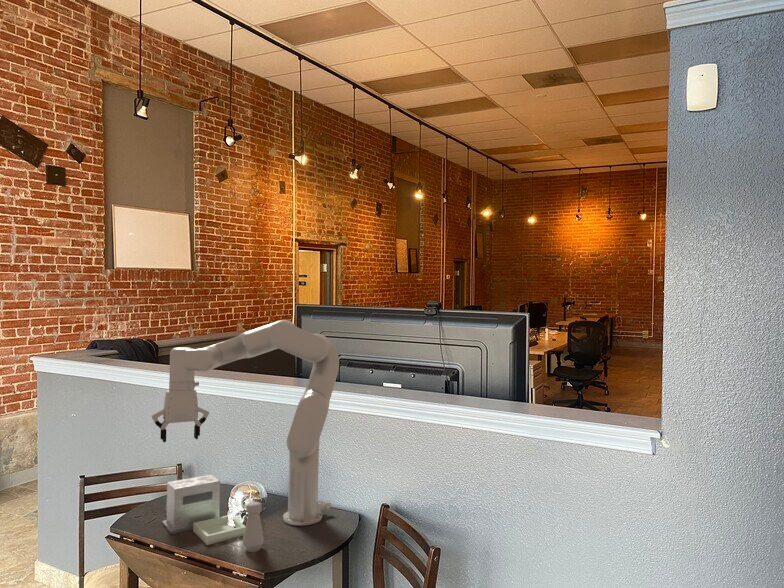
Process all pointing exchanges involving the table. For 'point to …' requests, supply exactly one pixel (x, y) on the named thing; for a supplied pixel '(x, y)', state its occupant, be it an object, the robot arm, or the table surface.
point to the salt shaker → (253, 528)
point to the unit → (191, 502)
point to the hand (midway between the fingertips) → (180, 439)
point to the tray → (218, 530)
